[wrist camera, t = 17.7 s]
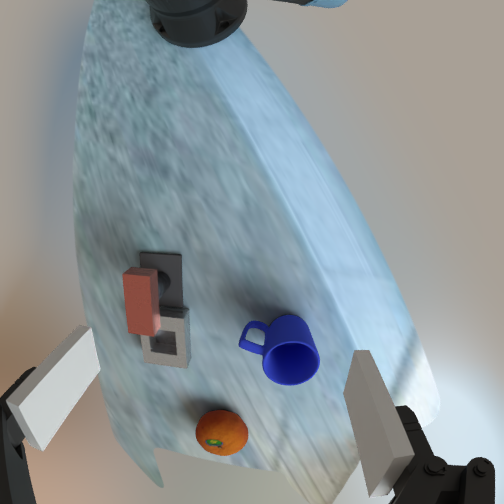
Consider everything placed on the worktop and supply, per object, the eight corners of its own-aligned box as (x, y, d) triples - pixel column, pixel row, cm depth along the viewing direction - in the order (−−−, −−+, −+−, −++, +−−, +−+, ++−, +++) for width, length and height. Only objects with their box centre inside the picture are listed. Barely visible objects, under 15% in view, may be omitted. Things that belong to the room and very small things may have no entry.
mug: (253, 292, 51) (249, 323, 41) (320, 318, 51) (330, 351, 42) (235, 333, 53) (228, 367, 43) (299, 355, 54) (304, 391, 44)
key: (151, 304, 52) (128, 332, 42) (148, 253, 49) (122, 273, 40) (173, 307, 51) (154, 336, 42) (171, 255, 49) (149, 276, 39)
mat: (141, 252, 50) (139, 253, 49) (181, 254, 50) (180, 255, 49) (144, 302, 52) (143, 303, 52) (183, 306, 52) (182, 307, 52)
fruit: (256, 429, 60) (255, 457, 52) (213, 438, 61) (208, 464, 54) (235, 397, 57) (231, 425, 50) (190, 407, 59) (182, 434, 51)
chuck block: (145, 304, 52) (137, 313, 49) (189, 309, 52) (183, 318, 49) (150, 351, 55) (144, 362, 52) (191, 357, 55) (187, 368, 52)
